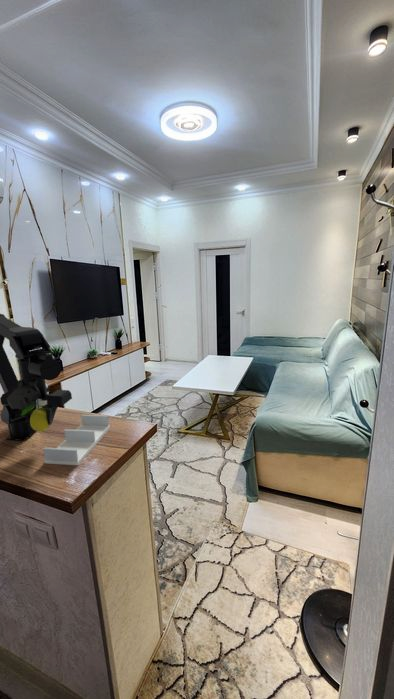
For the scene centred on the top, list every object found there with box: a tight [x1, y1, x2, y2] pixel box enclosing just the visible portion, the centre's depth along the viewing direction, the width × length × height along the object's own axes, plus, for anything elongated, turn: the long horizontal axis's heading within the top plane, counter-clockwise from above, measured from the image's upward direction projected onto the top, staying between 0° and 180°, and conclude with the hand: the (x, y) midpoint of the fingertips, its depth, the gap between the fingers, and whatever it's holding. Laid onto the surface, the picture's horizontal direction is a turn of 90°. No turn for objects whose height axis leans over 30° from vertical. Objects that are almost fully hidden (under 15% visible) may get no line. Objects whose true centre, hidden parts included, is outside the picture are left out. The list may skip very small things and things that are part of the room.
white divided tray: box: [43, 414, 111, 466], centre depth 89 cm, size 10×21×4 cm, turn 172°
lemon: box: [21, 400, 51, 433], centre depth 86 cm, size 7×6×10 cm
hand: (41, 424), depth 86 cm, fingers closed on lemon, 5 cm apart
